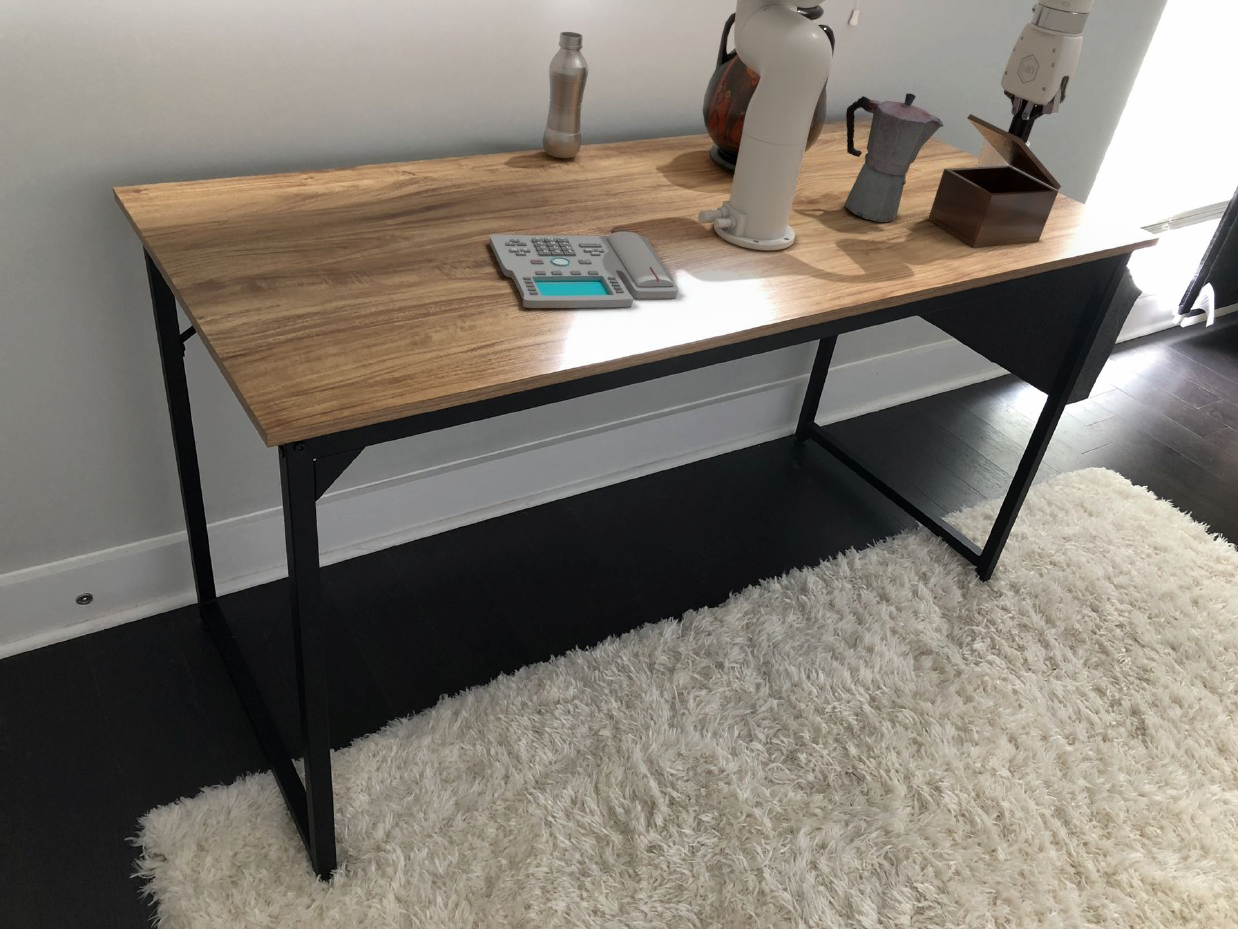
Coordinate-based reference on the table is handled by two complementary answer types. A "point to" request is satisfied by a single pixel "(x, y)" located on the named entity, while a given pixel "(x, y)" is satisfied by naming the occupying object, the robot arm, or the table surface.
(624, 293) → the office telephone
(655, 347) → the table surface
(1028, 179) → the box
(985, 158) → the white cup
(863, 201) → the moka pot
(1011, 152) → the lid
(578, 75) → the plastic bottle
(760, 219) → the robot arm
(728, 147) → the amphora vase
